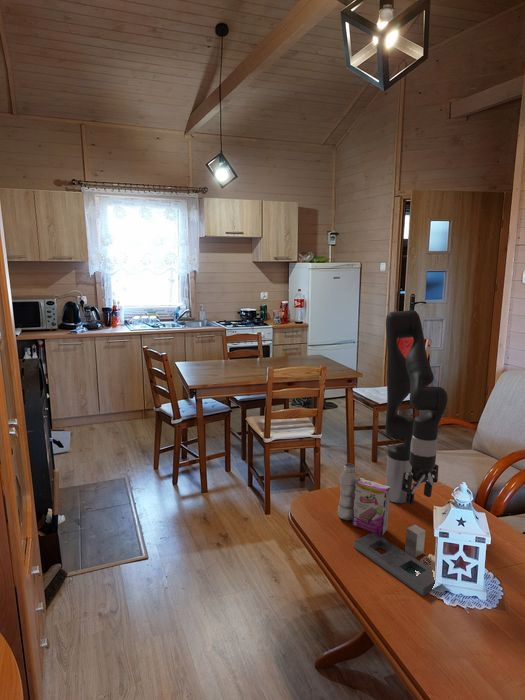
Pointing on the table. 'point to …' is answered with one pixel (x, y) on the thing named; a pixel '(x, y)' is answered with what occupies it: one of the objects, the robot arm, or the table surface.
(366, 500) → the candy bar box
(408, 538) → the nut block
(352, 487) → the plastic bottle
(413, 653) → the table surface
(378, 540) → the grey board with holes
